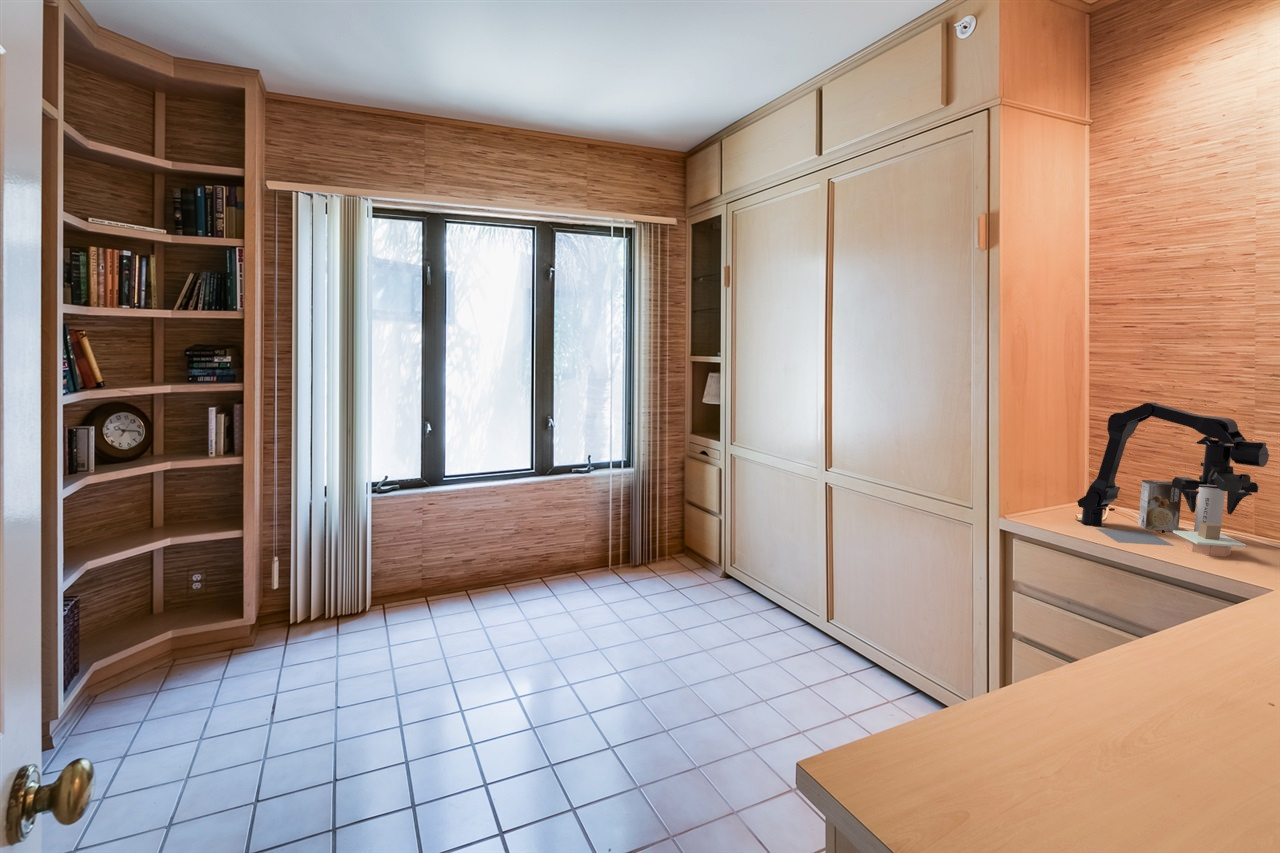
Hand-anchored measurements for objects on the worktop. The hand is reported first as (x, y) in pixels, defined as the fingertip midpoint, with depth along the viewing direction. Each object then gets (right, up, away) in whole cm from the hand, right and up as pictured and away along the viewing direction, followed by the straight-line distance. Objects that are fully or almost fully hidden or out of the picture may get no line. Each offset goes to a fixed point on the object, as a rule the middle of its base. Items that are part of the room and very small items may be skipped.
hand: (1211, 513), depth 186 cm
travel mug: (+13, -10, +16) cm, 23 cm away
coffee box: (+5, -9, +25) cm, 27 cm away
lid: (0, -8, +1) cm, 8 cm away
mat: (-11, -10, +15) cm, 21 cm away
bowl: (0, -12, +1) cm, 12 cm away
